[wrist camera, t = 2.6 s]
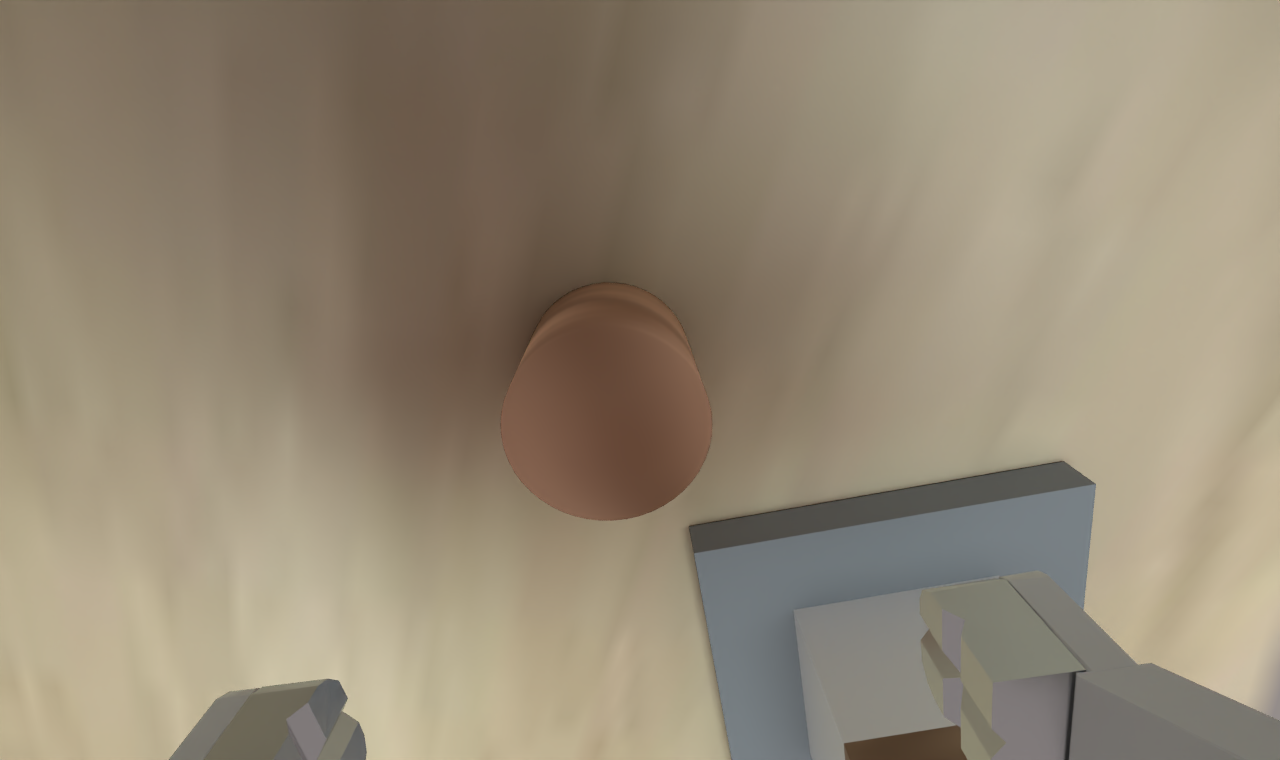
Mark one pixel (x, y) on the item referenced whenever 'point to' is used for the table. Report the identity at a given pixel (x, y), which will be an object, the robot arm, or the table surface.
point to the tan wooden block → (910, 746)
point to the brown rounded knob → (607, 406)
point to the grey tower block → (864, 671)
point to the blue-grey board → (868, 575)
